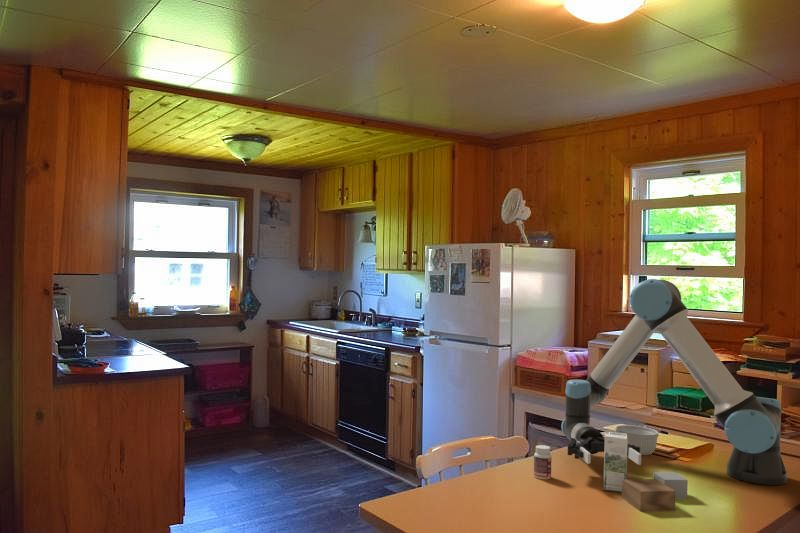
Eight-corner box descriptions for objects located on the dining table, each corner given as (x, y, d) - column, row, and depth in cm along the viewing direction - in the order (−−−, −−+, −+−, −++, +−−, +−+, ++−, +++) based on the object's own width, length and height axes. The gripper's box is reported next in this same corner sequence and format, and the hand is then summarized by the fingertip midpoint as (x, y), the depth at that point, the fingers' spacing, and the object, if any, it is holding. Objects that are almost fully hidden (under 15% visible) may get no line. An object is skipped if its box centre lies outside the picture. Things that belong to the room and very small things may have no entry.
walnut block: (654, 498, 159) (655, 478, 160) (675, 511, 151) (675, 490, 151) (621, 499, 158) (622, 479, 158) (640, 512, 149) (640, 491, 149)
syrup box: (626, 486, 167) (627, 432, 167) (626, 494, 161) (627, 437, 162) (603, 484, 169) (604, 430, 169) (603, 490, 163) (604, 435, 164)
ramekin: (661, 450, 206) (661, 428, 206) (653, 459, 195) (654, 436, 195) (620, 443, 213) (620, 423, 213) (610, 451, 202) (610, 430, 202)
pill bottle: (551, 480, 171) (552, 449, 171) (533, 478, 172) (534, 448, 172) (550, 475, 175) (551, 445, 176) (533, 473, 176) (534, 444, 176)
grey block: (675, 491, 165) (675, 472, 165) (687, 499, 159) (687, 479, 159) (653, 491, 165) (653, 472, 165) (664, 499, 159) (664, 479, 159)
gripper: (628, 451, 186) (660, 474, 165) (546, 450, 186) (567, 472, 164) (628, 426, 187) (661, 445, 165) (546, 425, 186) (568, 444, 165)
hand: (614, 459), depth 165 cm, fingers open, 13 cm apart
